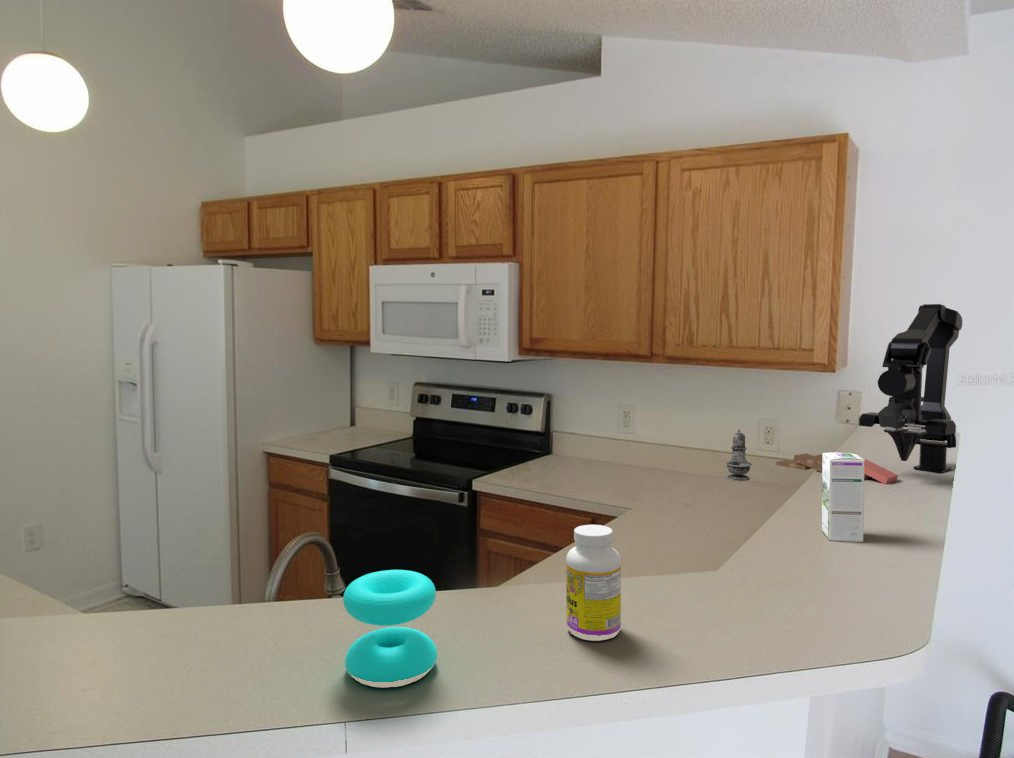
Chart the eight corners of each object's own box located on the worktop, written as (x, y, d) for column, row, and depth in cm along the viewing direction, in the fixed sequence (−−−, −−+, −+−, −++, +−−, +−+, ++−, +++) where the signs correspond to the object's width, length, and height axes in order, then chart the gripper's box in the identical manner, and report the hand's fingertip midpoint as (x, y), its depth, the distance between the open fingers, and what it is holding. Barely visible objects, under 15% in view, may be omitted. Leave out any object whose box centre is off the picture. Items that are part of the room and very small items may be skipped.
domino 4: (885, 484, 159) (853, 468, 165) (896, 481, 162) (863, 465, 168) (887, 478, 159) (855, 462, 165) (898, 475, 161) (866, 459, 167)
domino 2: (820, 471, 172) (793, 460, 178) (832, 469, 174) (805, 459, 181) (822, 465, 172) (794, 455, 178) (834, 463, 174) (806, 453, 181)
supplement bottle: (565, 619, 89) (564, 521, 88) (616, 620, 89) (617, 521, 88) (568, 644, 82) (567, 538, 81) (624, 644, 82) (624, 538, 81)
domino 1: (805, 472, 175) (776, 467, 181) (815, 470, 178) (786, 465, 184) (805, 466, 175) (776, 461, 181) (815, 464, 178) (787, 459, 184)
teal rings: (333, 601, 71) (352, 566, 81) (336, 695, 71) (354, 649, 81) (431, 599, 71) (438, 565, 81) (434, 692, 72) (440, 647, 82)
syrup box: (864, 542, 118) (867, 458, 117) (827, 540, 119) (829, 457, 118) (854, 532, 124) (857, 452, 122) (819, 531, 125) (821, 451, 124)
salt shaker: (747, 475, 169) (748, 427, 168) (754, 481, 163) (755, 430, 162) (723, 475, 170) (724, 426, 169) (728, 481, 164) (729, 430, 163)
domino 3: (842, 476, 167) (813, 461, 173) (853, 473, 170) (824, 458, 176) (844, 470, 167) (815, 455, 173) (855, 468, 170) (826, 453, 176)
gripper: (847, 391, 159) (845, 458, 161) (935, 398, 144) (932, 472, 146) (871, 388, 166) (869, 453, 167) (958, 395, 151) (955, 465, 152)
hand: (904, 460), depth 158 cm, fingers closed
